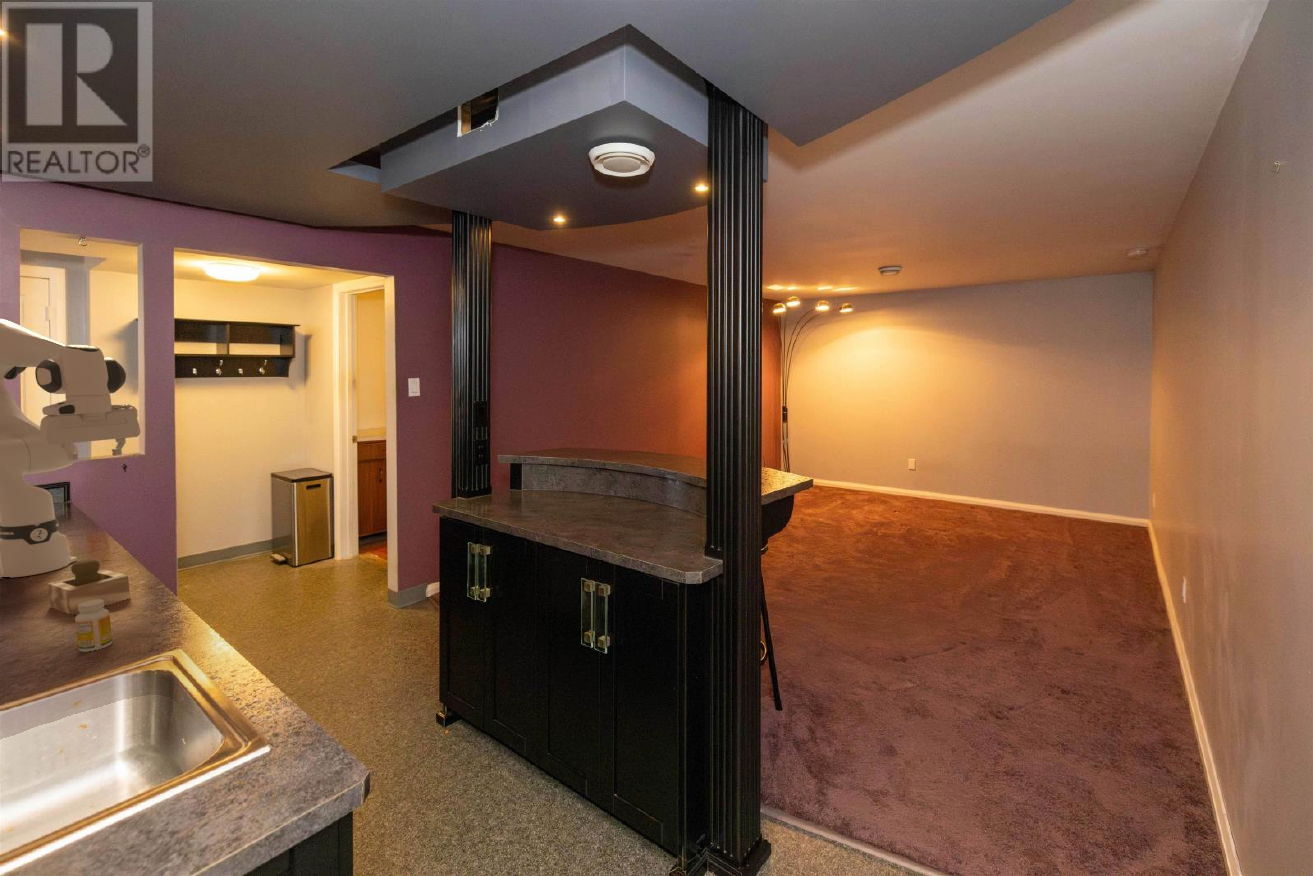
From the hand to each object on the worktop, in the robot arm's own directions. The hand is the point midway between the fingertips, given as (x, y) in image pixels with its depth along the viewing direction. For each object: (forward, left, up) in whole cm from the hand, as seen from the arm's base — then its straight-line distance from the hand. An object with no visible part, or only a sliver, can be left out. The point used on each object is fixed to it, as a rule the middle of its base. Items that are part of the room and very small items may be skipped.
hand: (95, 457), depth 167 cm
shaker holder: (+16, -10, -34) cm, 39 cm away
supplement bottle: (+48, -22, -34) cm, 63 cm away
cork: (+16, -11, -34) cm, 39 cm away
